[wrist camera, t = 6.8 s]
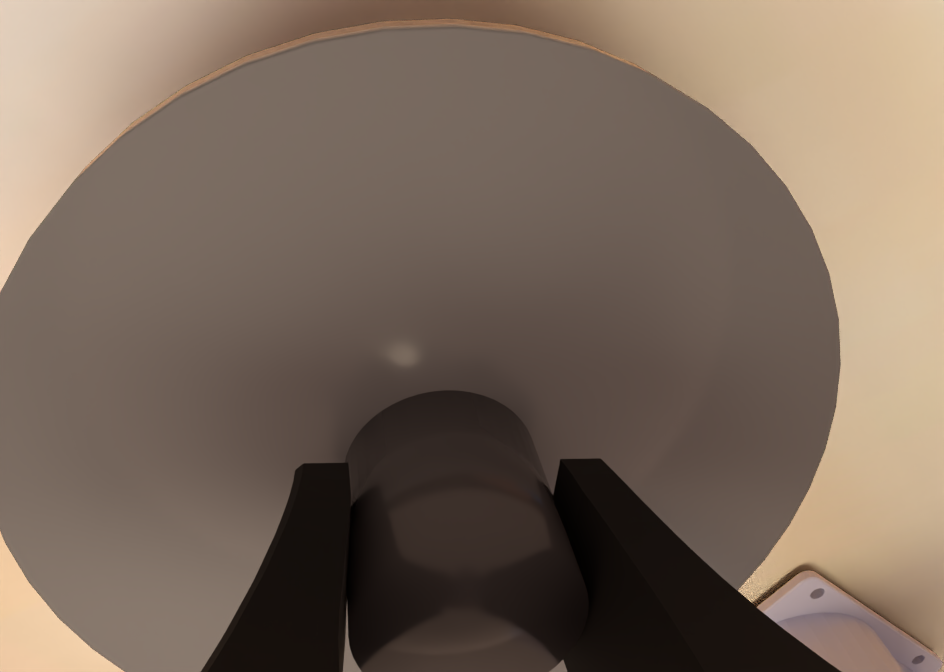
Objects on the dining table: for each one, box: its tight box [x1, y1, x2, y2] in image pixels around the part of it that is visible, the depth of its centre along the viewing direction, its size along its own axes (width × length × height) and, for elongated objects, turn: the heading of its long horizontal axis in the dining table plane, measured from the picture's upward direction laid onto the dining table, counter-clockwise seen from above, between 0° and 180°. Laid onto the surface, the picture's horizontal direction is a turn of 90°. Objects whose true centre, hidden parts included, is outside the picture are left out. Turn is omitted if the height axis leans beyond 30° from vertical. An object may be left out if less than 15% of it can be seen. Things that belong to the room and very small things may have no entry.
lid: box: [0, 19, 841, 672], centre depth 12 cm, size 13×13×4 cm
